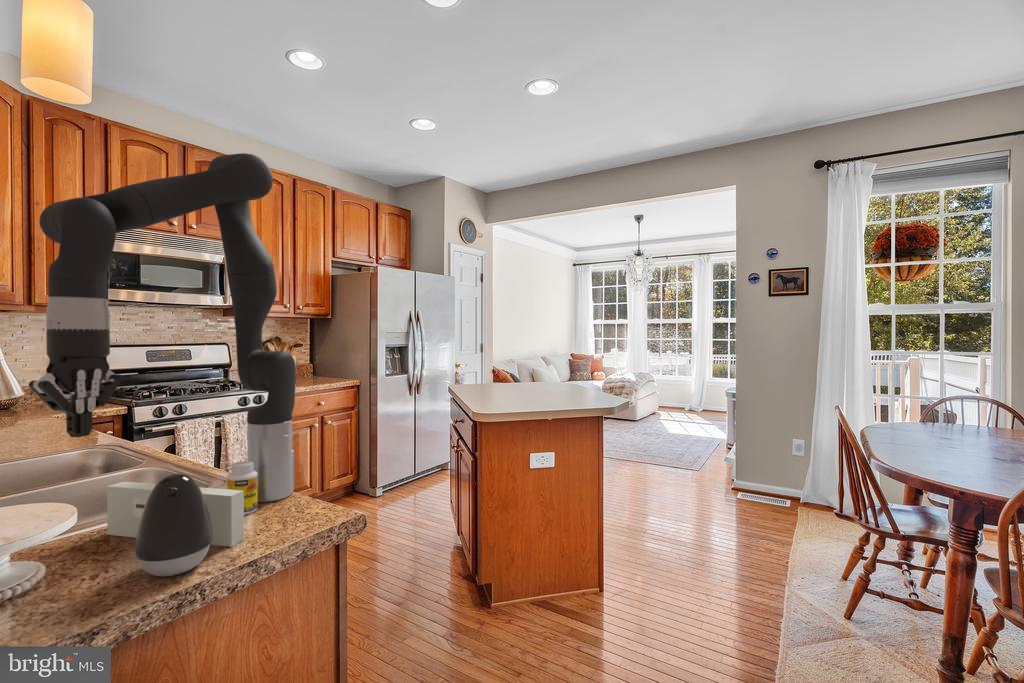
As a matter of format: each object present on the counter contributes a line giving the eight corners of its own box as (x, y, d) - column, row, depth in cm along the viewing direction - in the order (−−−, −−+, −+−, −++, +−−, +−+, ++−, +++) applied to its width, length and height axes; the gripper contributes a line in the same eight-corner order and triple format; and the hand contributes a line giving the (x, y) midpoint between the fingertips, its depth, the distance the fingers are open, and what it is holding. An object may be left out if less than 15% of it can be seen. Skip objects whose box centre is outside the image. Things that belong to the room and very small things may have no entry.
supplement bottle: (231, 519, 98) (231, 468, 98) (223, 511, 102) (223, 463, 102) (261, 512, 102) (261, 463, 102) (253, 505, 106) (252, 458, 106)
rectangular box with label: (123, 528, 93) (122, 481, 93) (243, 539, 89) (243, 490, 89) (105, 535, 90) (104, 487, 90) (229, 548, 85) (229, 496, 85)
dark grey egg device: (126, 591, 71) (126, 487, 71) (142, 561, 80) (142, 469, 80) (209, 576, 75) (209, 478, 75) (215, 549, 85) (215, 462, 84)
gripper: (52, 326, 70) (53, 447, 71) (138, 327, 83) (138, 429, 84) (10, 326, 72) (11, 444, 72) (101, 327, 85) (101, 427, 85)
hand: (80, 436), depth 78 cm, fingers closed
